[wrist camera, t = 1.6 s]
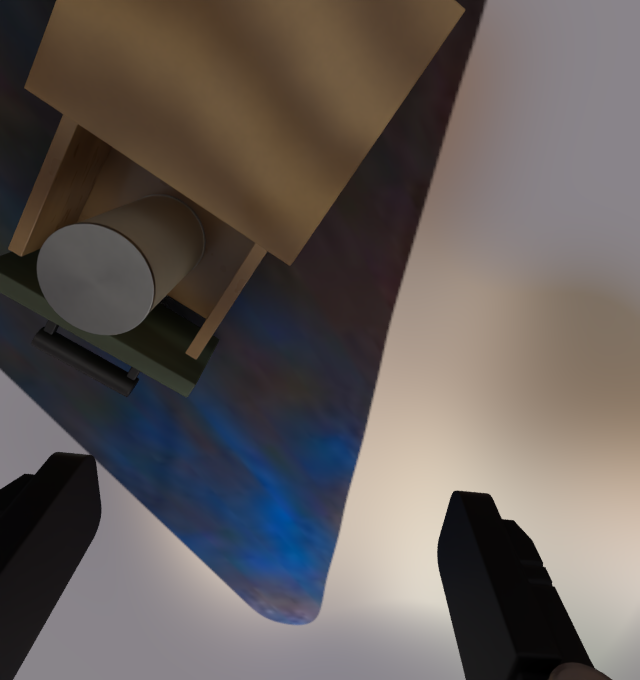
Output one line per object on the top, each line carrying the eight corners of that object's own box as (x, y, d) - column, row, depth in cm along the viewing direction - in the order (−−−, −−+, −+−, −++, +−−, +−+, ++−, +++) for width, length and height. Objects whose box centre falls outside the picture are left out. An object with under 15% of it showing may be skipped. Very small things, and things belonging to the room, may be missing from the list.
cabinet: (300, 232, 33) (290, 266, 25) (106, 98, 30) (23, 87, 22) (428, 42, 28) (466, 9, 20) (212, -143, 25) (155, -270, 17)
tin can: (109, 246, 32) (19, 295, 23) (145, 176, 30) (62, 198, 21) (182, 291, 33) (124, 355, 24) (220, 226, 31) (174, 268, 22)
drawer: (185, 390, 38) (156, 443, 31) (22, 297, 35) (-47, 336, 28) (303, 212, 32) (296, 234, 25) (118, 82, 29) (57, 69, 22)
